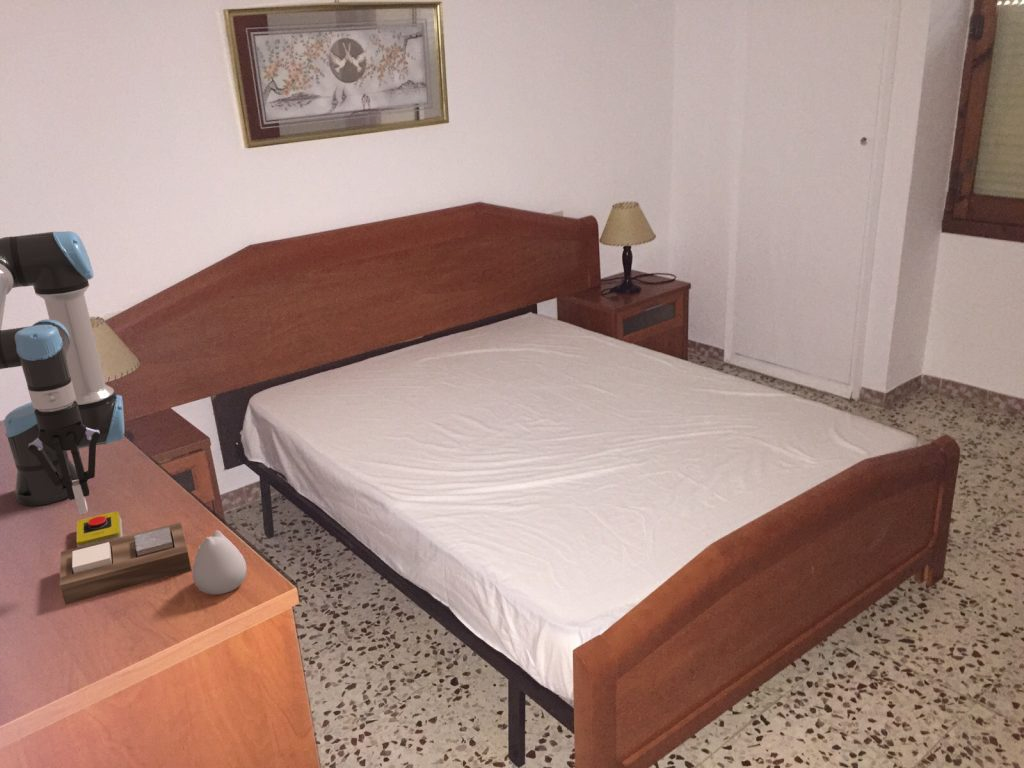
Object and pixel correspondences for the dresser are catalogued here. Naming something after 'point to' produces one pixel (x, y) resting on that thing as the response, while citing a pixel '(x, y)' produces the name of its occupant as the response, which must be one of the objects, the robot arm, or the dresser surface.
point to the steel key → (153, 542)
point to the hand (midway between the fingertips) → (83, 510)
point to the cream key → (91, 557)
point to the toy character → (218, 565)
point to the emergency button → (99, 529)
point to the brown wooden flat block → (123, 567)
